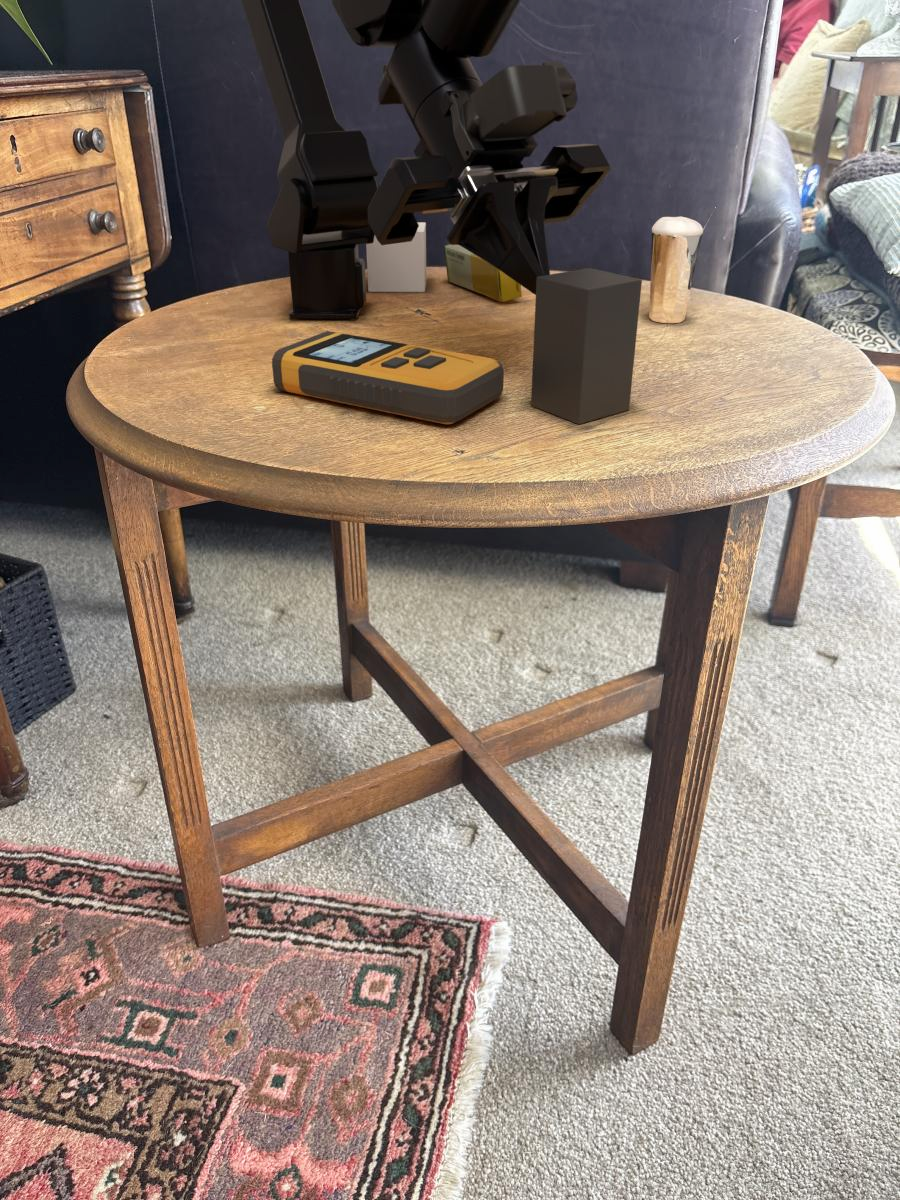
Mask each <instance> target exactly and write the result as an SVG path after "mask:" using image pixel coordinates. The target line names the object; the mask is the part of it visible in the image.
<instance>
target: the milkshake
mask: <svg viewBox="0 0 900 1200" xmlns="http://www.w3.org/2000/svg"><path fill="white" fill-rule="evenodd" d="M716 208H717V207H716V206H715V207H714V208H713V209H712V211H711V213H710V215H709V217H708V218H707V220H706V223H705V224H704V226H702V225H701V224H700V223H699V222H698V221H697V220H695V219H691V218H689V217H684V216H683V215H682V216H681V215H680V216H663V217H660V218H659V219H658V220H656V222H655V223H654V224H653V226H652V227H651V252H650V253H651V255H650V256H651V257H650V259H651V260H650V287H649V312H648V318H649V319H650V320H651V321H652V322H655V323H660V324H678V323H682V322H684V321H685V319H686V314H687V310H688V305H689V300H690V296H691V295H690V294H691V289H692V285H693V279H694V275H695V271H696V270H695V269H696V264H697V260H698V255H699V250H700V246H701V242H702V237H703V233H704V230H705V228H706V226H707V224H708V222H709V221H710V219H711V217H712V216H713V213H714V212H715V210H716Z"/></svg>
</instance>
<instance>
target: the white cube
mask: <svg viewBox="0 0 900 1200" xmlns="http://www.w3.org/2000/svg"><path fill="white" fill-rule="evenodd" d="M417 223H418V225H419V227H418V229H417V232H416V234H415V236H414V238H413V240H412V241H411V242H403V243H396V244H388V245H381V244H380V243H379V242H378V240H377V238H376V236H374V242H373V243H371V244H366V243H365V247H366V248H365V249H366V270H367V272H366V273H367V289H368V290H367V292H368V293H395V292H396V293H425V292H426V287H427V286H426V285H427V223H426V222H424V221H423V222H422V221H421V222H418V221H417Z"/></svg>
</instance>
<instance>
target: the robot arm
mask: <svg viewBox="0 0 900 1200" xmlns="http://www.w3.org/2000/svg"><path fill="white" fill-rule="evenodd" d="M240 1H241V4H242V8H243V11H244V14H245V17H246V21H247V24H248V27H249V30H250V33H251V37H252V40H253V43H254V46H255V49H256V54H257V55H258V59H259V63H260V66H261V68H262V72H263V76H264V78H265V82H266V84H267V88H268V91H269V94H270V97H271V100H272V104H273V107H274V110H275V113H276V117H277V121H278V123H279V126H280V129H281V133H282V137H283V141H284V144H283V148H282V152H281V156H280V159H279V165H278V169H277V173H276V175H277V180H278V184H279V190H280V191H279V192H278V196H277V198H276V201H275V203H274V205H273V207H272V210H271V211H270V212H271V213H270V215H269V218H268V220H267V223H266V225H267V230H268V234H269V238H270V243H271V246H272V247H274V248H277V249H279V250H283V251H285V252H287V258H288V268H289V269H288V270H289V282H290V295H291V305H292V306H291V309H290V311H289V312H288V317H289V318H290V319H327V320H328V319H333V320H334V319H335V320H337V319H345V320H346V319H347V320H350V319H352V320H353V319H358V317H359V316H360V313H361V311H362V310H363V309H364V307H365V305H366V303H367V281H366V278H367V277H366V260H365V259H364V258H360V257H359V245H363V244H365V245H366V244H371V243H373V242H374V236H376V238H377V240H378V242H379V243H380V244H381V245H388V244H396V243H403V242H411V241H412V240H413V238H414V236H415V234H416V232H417V229H418V227H419V225H418V223H417V222H418V221H417V219H416V217H415V213H420V212H421V213H422V214H423V215H426V214H434V213H444V212H448V213H449V216H450V221H451V223H452V224H453V226H452V227H451V229H450V231H449V232H448V234H447V236H446V237H445V239H446V241H447V243H448V245H449V244H450V245H460V246H461V247H463V248H465V249H466V250H468V251H470V252H472V253H473V254H475V255H477V256H478V257H480V258H482V259H483V260H485V261H487V262H488V263H490V264H491V265H493V266H494V267H496V268H497V269H499V270H500V271H502V272H503V273H505V274H506V275H507V276H509V277H510V278H512V279H513V280H515V281H516V282H517V283H519V284H520V285H521V287H523V288H525V290H527V291H529V292H530V293H532V294H533V295H534V296H536V281H537V277H539V276H544V275H550V274H551V270H550V264H549V253H548V248H547V247H548V246H547V239H546V231H545V230H546V229H545V227H546V226H545V224H552V223H561V222H566V221H568V220H570V219H572V218H573V217H575V215H577V213H579V211H580V209H582V207H583V206H584V204H585V203H586V202H587V201H588V200H589V198H590V197H591V196H592V195H593V193H594V192H595V191H596V190H597V189H598V187H599V186H600V184H601V183H602V182H603V181H604V180H605V179H606V177H607V176H608V174H609V173H610V172H611V165H610V163H609V161H608V160H607V157H606V156H605V154H604V152H603V150H602V149H601V146H600V144H595V143H594V144H593V143H579V144H566V145H554V146H553V147H552V148H551V150H550V151H549V152H548V154H547V155H546V157H545V158H544V159H543V161H542V162H541V164H540V165H539V166H531V167H530V166H529V167H524V164H523V160H524V159H525V158H530V157H531V156H532V154H533V153H534V151H535V149H536V148H537V147H538V143H537V140H536V139H535V135H537V134H538V133H540V132H541V131H543V130H544V129H546V128H547V127H549V126H550V125H552V124H553V123H555V122H556V123H557V122H558V123H559V122H561V121H563V120H565V119H566V117H567V115H568V113H569V112H570V111H572V110H573V109H575V107H576V105H577V103H578V99H579V96H578V91H577V83H576V81H575V79H574V77H573V75H571V73H570V71H569V70H568V69H567V67H566V66H565V64H564V62H562V61H544V62H542V63H541V64H515V65H511V66H507V67H504V68H503V69H501V70H499V71H498V72H497V73H495V74H493V76H491V77H490V78H489V79H487V80H486V81H485V82H484V83H483V82H482V81H481V79H480V77H479V75H478V73H477V72H476V69H475V67H474V66H473V64H472V62H471V60H470V58H471V57H473V58H483V57H486V56H489V55H490V54H491V53H493V52H494V50H495V49H496V47H497V45H498V43H499V42H500V41H501V40H500V39H501V38H502V36H503V34H504V33H505V32H506V29H507V27H508V26H509V24H510V22H511V20H512V18H513V16H514V15H515V13H516V11H517V10H518V8H519V6H520V4H521V2H522V1H523V0H330V1H331V4H332V6H333V8H334V10H335V12H336V14H337V15H338V17H339V19H340V21H341V23H342V25H343V27H344V29H345V30H346V32H347V34H348V36H349V38H350V39H351V40H352V42H354V44H355V45H356V46H360V47H363V48H364V47H381V48H382V47H385V48H386V47H390V48H391V47H393V50H392V53H391V55H390V57H389V59H388V61H387V63H386V64H384V65H383V67H382V79H381V81H380V84H379V86H378V91H377V92H378V93H377V94H378V95H377V96H378V97H377V101H378V103H379V105H381V106H390V105H391V106H393V105H394V106H395V105H402V106H403V108H404V110H405V112H406V114H407V116H408V118H409V120H410V122H411V124H412V126H413V127H414V130H415V131H416V132H415V133H416V134H417V136H418V137H419V140H418V142H417V143H416V146H415V147H414V149H413V153H414V156H406V157H395V158H394V157H393V158H392V160H391V162H390V163H389V166H388V168H387V169H386V171H385V173H384V175H383V177H382V179H381V181H380V182H379V183H378V180H377V179H376V177H378V174H379V173H378V171H377V169H376V168H375V166H374V163H373V161H372V159H371V156H370V152H369V151H370V150H369V145H368V142H367V138H366V137H365V136H364V134H363V132H362V131H361V130H360V129H354V130H353V129H351V130H346V129H345V128H344V127H343V126H342V125H341V124H340V123H339V122H338V121H337V117H336V115H335V112H334V108H333V106H332V102H331V99H330V96H329V92H328V89H327V86H326V83H325V79H324V76H323V72H322V70H321V66H320V64H319V60H318V56H317V53H316V51H315V46H314V43H313V40H312V37H311V35H310V30H309V27H308V23H307V20H306V17H305V14H304V11H303V8H302V7H303V6H302V4H301V0H240Z"/></svg>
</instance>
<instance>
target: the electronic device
mask: <svg viewBox="0 0 900 1200" xmlns="http://www.w3.org/2000/svg"><path fill="white" fill-rule="evenodd" d="M271 368H272V377H273V384H274V388H276V389H277V390H278V391H283V392H287V393H292V394H296V395H297V394H298V395H301V396H306V397H312V398H316V399H322V400H326V401H329V402H330V401H331V402H335V403H341V404H346V405H349V406H356V407H359V408H365V409H370V410H375V411H378V412H383V413H388V414H394V415H398V416H403V417H408V418H413V419H417V420H422V421H426V422H427V421H428V422H432V423H438V424H441V425H442V424H443V425H452V424H454V423H456V422H459V421H462V420H463V419H464V418H466V417H468V416H470V415H471V414H473V413H475V412H477V411H479V410H480V409H481V408H484V407H485V406H487V405H488V404H490V403H492V402H494V401H495V400H497V399H498V398H500V397H501V396H502V394H503V391H504V380H505V379H504V377H505V376H504V375H505V370H504V366H503V364H502V362H500V361H497V360H496V359H495V358H490V357H486V356H479V355H474V354H467V353H462V352H455V351H450V350H444V349H438V348H432V347H427V346H421V345H413V344H407V343H403V342H402V343H401V342H396V341H389V340H385V339H384V340H383V339H377V338H372V337H366V336H361V335H354V334H349V333H340V332H335V331H331V330H326V331H323V332H321V333H318V334H316V335H313V336H310V337H307V338H305V339H302V340H300V341H297V342H295V343H292V344H288V345H286V346H284V347H281V348H279V349H278V350H276V351H275V352H274V354H273V356H272V358H271Z"/></svg>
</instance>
